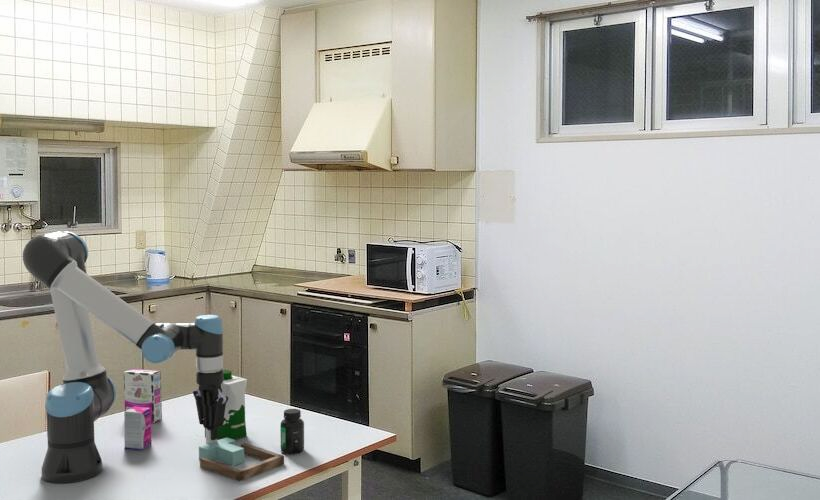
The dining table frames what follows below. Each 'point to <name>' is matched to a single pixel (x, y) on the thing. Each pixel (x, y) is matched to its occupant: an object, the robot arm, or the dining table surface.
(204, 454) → the tee
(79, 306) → the robot arm
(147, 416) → the supplement box
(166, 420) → the dining table surface
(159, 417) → the candy bar box
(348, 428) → the dining table surface
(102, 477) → the dining table surface
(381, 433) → the dining table surface
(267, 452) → the wooden u-shaped frame
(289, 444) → the supplement bottle
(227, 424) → the milk carton
